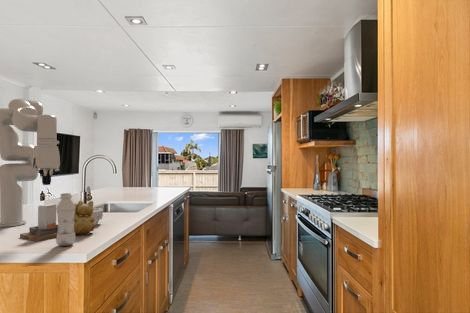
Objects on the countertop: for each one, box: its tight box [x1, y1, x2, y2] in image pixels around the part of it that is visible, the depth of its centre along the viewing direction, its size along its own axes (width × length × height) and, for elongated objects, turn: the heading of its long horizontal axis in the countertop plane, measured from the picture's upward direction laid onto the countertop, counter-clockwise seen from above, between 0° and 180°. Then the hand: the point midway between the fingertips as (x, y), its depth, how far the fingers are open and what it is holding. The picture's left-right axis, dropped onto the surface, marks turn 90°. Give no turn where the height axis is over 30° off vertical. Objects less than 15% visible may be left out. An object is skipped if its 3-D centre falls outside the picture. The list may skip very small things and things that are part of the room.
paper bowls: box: [74, 207, 104, 226], centre depth 162 cm, size 15×15×8 cm
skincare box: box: [37, 203, 57, 229], centre depth 139 cm, size 6×4×12 cm
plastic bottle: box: [55, 192, 76, 247], centre depth 123 cm, size 6×7×20 cm
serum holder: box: [19, 223, 58, 242], centre depth 139 cm, size 14×15×4 cm
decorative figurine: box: [74, 200, 96, 236], centre depth 141 cm, size 10×8×15 cm
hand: (46, 184), depth 139 cm, fingers closed
